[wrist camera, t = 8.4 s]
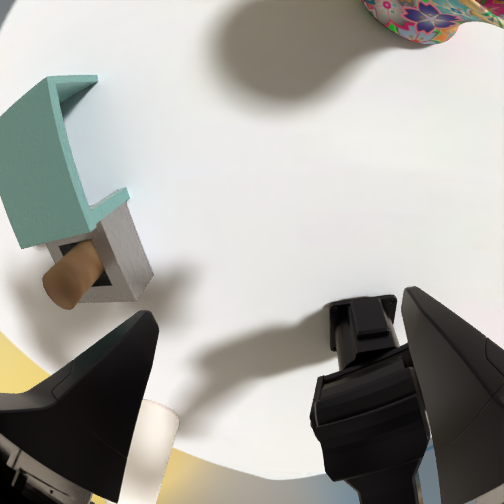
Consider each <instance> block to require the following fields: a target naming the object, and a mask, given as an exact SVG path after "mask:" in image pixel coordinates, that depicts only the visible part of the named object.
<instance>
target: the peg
mask: <svg viewBox="0 0 504 504" xmlns="http://www.w3.org/2000/svg"><path fill="white" fill-rule="evenodd" d="M104 271H105V269H104V267H103V265H102V263H101V260H100V258H99V256H98V254H97V252H96V249H95V247H94V245H93V242H92V240H91V239H88V240H84V241H80V242H79V243H78V244H77V245H76V246H75V247H74V248H72V249H71V250H70V251H69V252H68V253H67V254H66V255H65V256H64V257H62V258H61V259H60V260H59V261H58V262H57V263H56V264H55V265H54V266H53V267H52V268H51V269H50V270H49V271H48V272H47V273H46V274H45V275H44V276H43V286H44V288H45V291H46V293H47V294H48V296H49V297H50V298H51V299H52V301H53V302H54V303H56V304H57V305H58V306H60V307H61V308H63V309H67V310H70V309H73V308H74V306H75V305H76V304H77V303H78V302H79V300H80V299H81V298H82V297H83V296H84V294H85V293H86V292H87V291H88V290H89V288H90V287H91V286H92V285H93V284H94V282H95V281H96V280H97V279H98V278H99V277H100V276H101V274H102V273H103V272H104Z"/></svg>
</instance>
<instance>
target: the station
mask: <svg viewBox="0 0 504 504" xmlns="http://www.w3.org/2000/svg"><path fill="white" fill-rule="evenodd" d="M96 82H98V78H97V75H68V76H50V77H46V78H44V79H43V80H42V81H41V82H39V83H38V84H37V85H35V86H34V87H33V88H32V89H31V90H29V91H28V92H27V93H26V94H25V95H23V96H22V97H21V98H20V99H19V100H18V101H16V102H15V103H14V104H13V105H12V106H11V107H10V108H9V109H8V110H7V111H6V112H5V113H4V114H2V115H1V116H0V196H1V199H2V202H3V205H4V208H5V210H6V213H7V216H8V218H9V221H10V223H11V226H12V228H13V231H14V233H15V236H16V238H17V240H18V242H19V245H20V247H21V249H24V248H28V247H32V246H35V245H39V244H43V243H46V245H47V248H48V250H49V252H50V254H51V256H52V258H53V260H54V262H55V264H56V263H57V262H58V261H59V260H60V259H61V258H62V257H64V256H65V255H66V254H67V253H68V252H69V251H70V250H71V249H72V248H74V247H75V246H76V245H77V244H78V243H79V242H80V241H84V240H88V239H91V240H92V242H93V245H94V247H95V249H96V252H97V254H98V256H99V258H100V260H101V263H102V265H103V267H104V269H105V271H104V272H103V273H102V274H101V276H100V277H99V278H98V279H97V280H96V281H95V282H94V284H93V285H92V286H91V287H90V288H89V290H88V291H87V292H86V293H85V294H84V296H83V297H82V298H81V299H80V300H79V302H78V303H86V302H129V301H137V299H138V298H139V296H140V295H141V293H142V292H143V290H144V289H145V287H146V286H147V284H148V283H149V281H150V280H151V278H152V277H153V275H154V274H153V272H152V269H151V267H150V265H149V262H148V260H147V257H146V255H145V252H144V250H143V247H142V245H141V242H140V239H139V237H138V234H137V231H136V229H135V226H134V223H133V221H132V218H131V215H130V212H129V209H128V206H127V204H126V201H127V200H128V199H129V195H128V192H127V189H126V188H122V189H119V190H116V191H115V192H113V193H112V194H110V195H109V196H107V197H106V198H104V199H103V200H101V201H100V202H98V203H97V204H95V205H92V206H89V205H88V202H87V200H86V197H85V194H84V191H83V188H82V185H81V182H80V179H79V176H78V173H77V169H76V166H75V163H74V159H73V156H72V153H71V149H70V145H69V142H68V138H67V134H66V130H65V126H64V122H63V117H62V113H61V108H60V103H62V102H63V101H65V100H66V99H68V98H70V97H71V96H73V95H75V94H76V93H78V92H80V91H81V90H83V89H85V88H87V87H89V86H90V85H92V84H94V83H96Z"/></svg>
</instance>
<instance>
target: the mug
mask: <svg viewBox="0 0 504 504" xmlns="http://www.w3.org/2000/svg"><path fill="white" fill-rule="evenodd" d="M362 2H363V3H364V5H365V6H366V8H367V9H368V10H369V11H370V13H371V14H372V15H373V16H374V17H375V18H376V19H377V20H378V21H379V22H381V23H382V24H383V25H384V26H386V27H387V28H388V29H390V30H391V31H393V32H394V33H396V34H398V35H400V36H402V37H404V38H406V39H408V40H411V41H414V42H418V43H423V44H439V43H443V42H445V41H447V40H449V39H450V38H451V37H452V36H453V35H454V34H455V33H456V31H457V29H458V26H459V25H460V24H462V23H465V22H472V21H478V22H485V23H489V24H493V25H496V26H498V27H501V28H503V29H504V0H362Z"/></svg>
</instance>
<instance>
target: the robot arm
mask: <svg viewBox="0 0 504 504" xmlns="http://www.w3.org/2000/svg"><path fill="white" fill-rule="evenodd" d="M391 300H392V301H391ZM396 305H397V298H396V296H395V295H387V296H380V297H373V298H366V299H358V300H350V301H342V302H334V303H332V304H330V306H329V313H330V349H331V351H337V355H338V364H339V371H338V372H335V373H332V374H329V375H326V376H324V375H323V376H320V377H318V379H317V384H316V388H315V393H314V398H313V403H312V407H311V412H310V420H311V423H310V425H311V428H312V429H313V431H314V434H315V436H316V438H317V439H318V441H319V442H320V443H321V447H322V452H323V458H324V467H325V472H326V473H327V475H328V476H329V477H330V478H331V480H332V481H334V482H336V481H341V480H344V481H345V482H346V483H347V484H349V485H350V486H351V487H352V488H353V489H355V490H356V491H357V492H358V496H359V501H360V504H423V499H422V492H421V485H420V479H419V473H418V468H419V466H420V464H421V461H422V459H423V456H424V453H425V451H426V448H427V445H428V442H429V439H430V436H431V435H432V439H433V445H434V450H435V456H436V458H437V459H436V463H437V470H438V477H439V485H440V494H441V504H464V503H466V502H468V501H471V500H473V499H475V498H476V504H504V350H503V349H502V348H501V347H499V346H498V345H497V344H495V343H494V342H493V341H491V340H490V339H489V338H486V336H485V335H484V334H482V333H481V332H480V331H478V330H477V329H476V328H474V327H473V326H472V325H470V324H469V323H468V322H466V321H465V320H463V319H462V318H461V317H459V316H458V315H457V314H455V313H454V312H452V311H451V310H450V309H448V308H447V307H445V306H444V305H443V304H441V303H440V302H438V301H437V300H436V299H434V298H433V297H431V296H430V295H428V294H427V293H425V292H424V291H422V290H421V289H420V288H418V287H416V286H413V287H407V288H405V289H404V293H403V299H402V306H401V312H402V317H403V321H404V326H405V331H406V335H407V340H408V343H406V344H404V345H402V346H400V345H399V342H398V339H397V336H396V333H395V330H394V327H393V323H394V318H395V311H396ZM334 307H337V308H335V309H333V308H334ZM158 335H159V326H158V324H157V322H156V320H155V318H154V316H153V314H152V313H151V312H150V311H149V310H141V311H139V312H137V313H136V314H134V315H133V316H132V317H130V318H129V319H128V320H126V321H125V322H123V323H122V324H121V325H119V326H118V327H117V328H115V329H114V330H113V331H111V332H110V333H108V334H107V335H106V336H104V337H103V338H102V339H100V340H99V341H98V342H96V343H95V344H94V345H92V346H91V347H90V348H88V349H87V350H86V351H84V352H83V353H82V354H80V355H79V356H77V357H76V358H75V359H74V360H72V361H71V362H69V363H68V364H67V365H65V366H64V367H63V368H61V369H60V370H59V371H57V372H56V373H54V374H53V375H51V376H50V377H48V378H47V379H45V380H44V381H42V382H41V383H39V384H37V385H36V386H34V387H33V388H31V389H30V390H28V391H26V392H24V393H19V394H9V393H0V504H95V503H93V502H91V498H92V495H93V493H94V494H96V495H98V496H100V497H102V498H104V499H107V500H109V501H111V502H113V503H116V504H118V501H119V496H120V491H121V486H122V481H123V477H124V472H125V468H126V463H127V458H128V454H129V450H130V446H131V442H132V438H133V434H134V430H135V426H136V422H137V418H138V414H139V411H140V407H141V403H142V400H143V396H144V393H145V389H146V386H147V382H148V379H149V375H150V372H151V369H152V365H153V360H154V355H155V350H156V345H157V340H158ZM426 412H427V413H426ZM427 416H428V417H427ZM428 420H429V421H428ZM430 430H431V435H430Z"/></svg>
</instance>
